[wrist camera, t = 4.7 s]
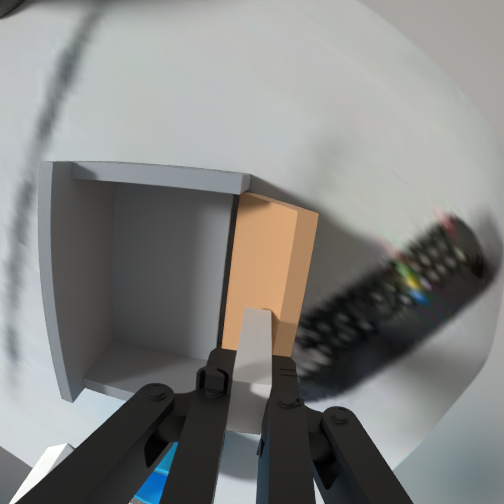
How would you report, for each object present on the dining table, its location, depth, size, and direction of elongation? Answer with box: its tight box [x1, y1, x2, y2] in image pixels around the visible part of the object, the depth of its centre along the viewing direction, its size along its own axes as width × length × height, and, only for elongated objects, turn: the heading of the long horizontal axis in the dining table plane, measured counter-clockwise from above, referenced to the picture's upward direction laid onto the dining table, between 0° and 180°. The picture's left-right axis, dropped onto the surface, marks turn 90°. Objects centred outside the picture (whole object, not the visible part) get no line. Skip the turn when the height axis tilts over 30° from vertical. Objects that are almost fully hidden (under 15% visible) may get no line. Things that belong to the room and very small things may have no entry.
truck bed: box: [38, 161, 251, 403], centre depth 20 cm, size 16×11×9 cm
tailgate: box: [222, 192, 319, 357], centre depth 20 cm, size 13×1×8 cm, turn 172°
